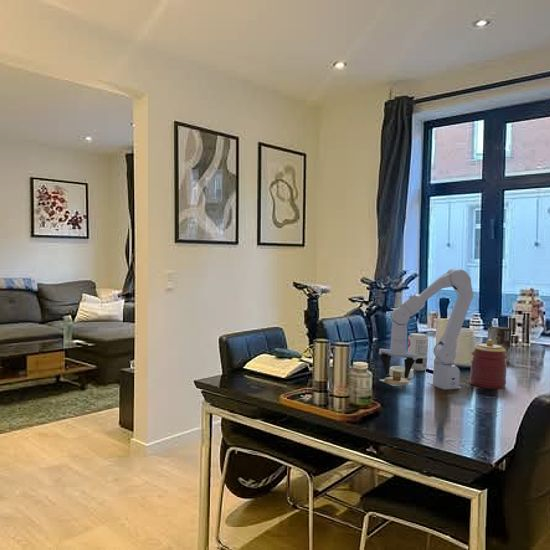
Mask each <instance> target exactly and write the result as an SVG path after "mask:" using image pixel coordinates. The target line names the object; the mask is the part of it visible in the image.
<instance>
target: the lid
mask: <svg viewBox="0 0 550 550" xmlns="http://www.w3.org/2000/svg"><path fill="white" fill-rule="evenodd" d="M383 379H384V381H385V382H386V383H385V382H384V383H385V384H388V383H389V384H388V385H390V384H394V385H401V386H408V385H407V384H409V382H410V380H409V379H404V378H401V371H393V377H391V376H388V377H384V378H383Z"/></svg>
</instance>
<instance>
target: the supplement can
mask: <svg viewBox="0 0 550 550" xmlns="http://www.w3.org/2000/svg"><path fill="white" fill-rule="evenodd" d="M428 349H429V338H428V334H426V333H421V332H411V333H410V334H409V335H408V338H407V352H410V353H414V354H418V356H417V359H416V360H415V362H414V364H413V365H412V367H411V368H412V369H414V372H415V371H416V372H420V371H421V372H423V371H425V370H426V369H427V368H428Z"/></svg>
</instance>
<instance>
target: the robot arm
mask: <svg viewBox="0 0 550 550" xmlns="http://www.w3.org/2000/svg"><path fill="white" fill-rule="evenodd" d="M446 288H453V289H454V292H455V294H457V297H456V301H455V302H454V306H453V308H452V311H451V314H450V316H449V319H448V321H447V324H446V327H445V330H444V332H443V334H442V336H441V337H440V338H439V341H438V342H437V344H436V345H434V347H433V354H434V356H435V358H434V359H433V372H432V381H429V382H427V384H429V385H431V386H434V387H437V388H439V389H442V390H455V389H457V390H458V389H461V388H462V387H461V386H460V378H461V376H460V375H461V371H460V368H459V367H458V366H456V365H455V359H456V358H457V352H456V350H457V346H458V341H457V340H458V337H459V335H460V333H461V330H462V327H463V324H464V321H465V318H466V316H467V314H468V312H469V308H470V306H471V304H472V301H473V298H474V292H473V291H474V290H473V286H472V277H470V274H469V273H467V271H466V270H464V269H459V268H458V269H457V268H451V269H448V271H447V272H444V273H443V274H442V275H440V276H439V277H438V278H436V279H435V281H433V282H431V284H430V285H428V286H427V288H425V289H424V290H423V291H422V292H420V293H419V294H418V293H417V294H416V293H415V294H413V295H412V294H410V295H408V299H407V300H405V301H404V302H403V303H400V304H399V305H398V307H397V308H394V309H393V310H392V312H391V314H390V317H391V319H392V323H391V330H390V331H391V332H390V334H391V336H390V348H379V349H378V350H379V351H378V355H380V357H379V358H380V360H381V362H382V364H383V365H382V366H383V368H384V373H385V375H389V370H390V367H391V366H390V365H391V359H392V357H398V358H403V359H404V358H405V359H404V360H403V361H404V367H405V374H404V377H405V378H408V376H409V372H410V370H411V367H412V365H413V364H414V362H415V360H416V359H417V356H418V354H414V353H410V352H408V351H407V341H408V338H407V336H408V322H409V321H410V317H413V316H415V314H417V313H418V312H419V311H420V310H422V309H423V308H425V307H426V306H425V305H426V301H427V300H429V299H430V298H432V297H433V296H434V295H435V294H437V293H438V292H440V291H441V290H442V289H446Z"/></svg>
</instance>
